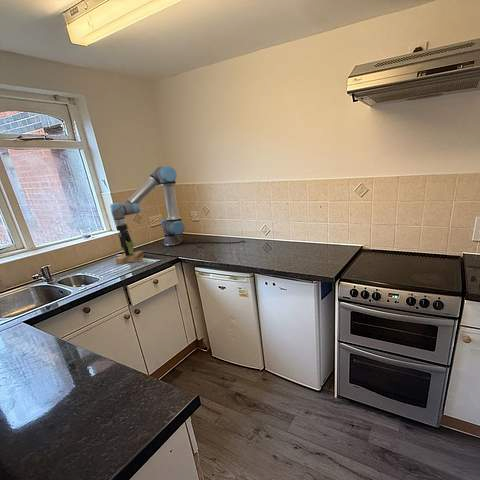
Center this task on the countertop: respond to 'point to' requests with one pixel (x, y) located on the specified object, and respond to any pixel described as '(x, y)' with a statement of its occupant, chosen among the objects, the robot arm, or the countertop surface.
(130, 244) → the plant pot
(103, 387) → the countertop surface
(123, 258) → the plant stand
